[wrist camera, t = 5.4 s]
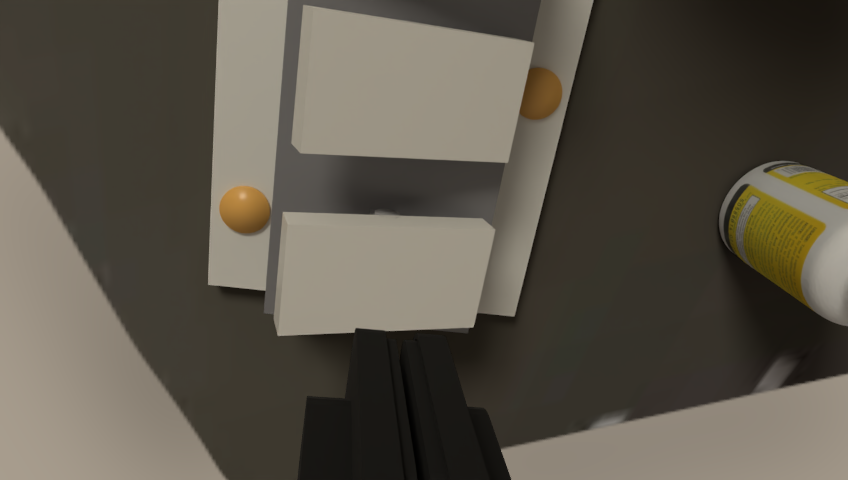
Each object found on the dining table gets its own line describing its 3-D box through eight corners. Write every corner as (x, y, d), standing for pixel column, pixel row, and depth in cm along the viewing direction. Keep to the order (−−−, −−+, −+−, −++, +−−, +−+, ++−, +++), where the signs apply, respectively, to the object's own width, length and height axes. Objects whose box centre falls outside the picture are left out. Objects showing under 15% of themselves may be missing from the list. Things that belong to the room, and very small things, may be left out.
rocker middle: (506, 36, 23) (534, 42, 21) (482, 149, 25) (508, 162, 23) (297, 2, 19) (313, 7, 18) (286, 138, 21) (300, 153, 19)
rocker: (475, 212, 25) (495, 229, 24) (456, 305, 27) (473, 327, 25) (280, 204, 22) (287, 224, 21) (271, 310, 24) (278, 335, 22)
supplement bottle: (741, 277, 32) (887, 390, 23) (697, 201, 30) (838, 292, 21) (834, 218, 31) (1024, 311, 22) (795, 135, 29) (985, 201, 20)
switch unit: (631, -189, 24) (688, -228, 19) (510, 307, 32) (531, 355, 27) (235, -283, 21) (204, -348, 17) (212, 275, 29) (187, 322, 25)
